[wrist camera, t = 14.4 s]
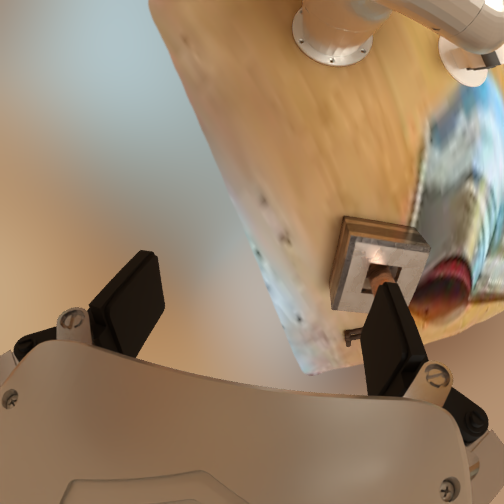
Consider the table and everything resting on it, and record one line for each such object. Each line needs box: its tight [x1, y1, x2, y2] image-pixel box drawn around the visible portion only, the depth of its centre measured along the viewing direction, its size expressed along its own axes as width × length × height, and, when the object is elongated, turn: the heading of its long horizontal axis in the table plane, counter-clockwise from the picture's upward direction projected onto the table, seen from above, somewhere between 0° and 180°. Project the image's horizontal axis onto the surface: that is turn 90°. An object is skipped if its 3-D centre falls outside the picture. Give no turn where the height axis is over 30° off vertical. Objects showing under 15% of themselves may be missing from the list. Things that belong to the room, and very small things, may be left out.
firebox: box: [329, 216, 431, 313], centre depth 45 cm, size 14×14×8 cm
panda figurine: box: [438, 36, 504, 87], centre depth 21 cm, size 12×11×15 cm
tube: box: [367, 263, 395, 297], centre depth 41 cm, size 4×4×17 cm
